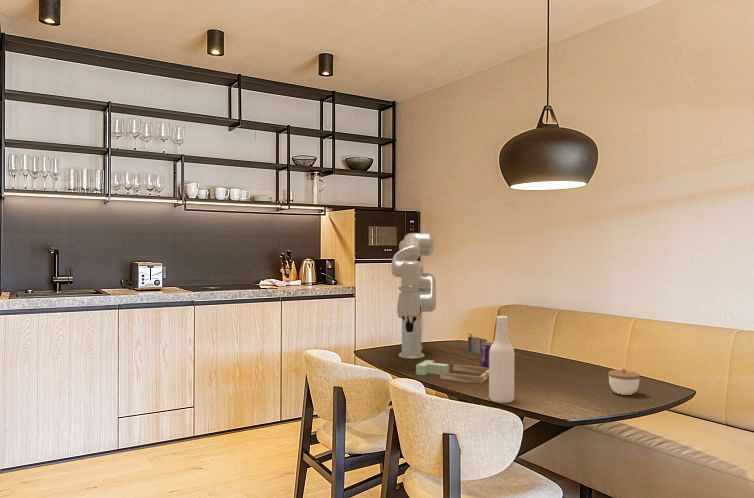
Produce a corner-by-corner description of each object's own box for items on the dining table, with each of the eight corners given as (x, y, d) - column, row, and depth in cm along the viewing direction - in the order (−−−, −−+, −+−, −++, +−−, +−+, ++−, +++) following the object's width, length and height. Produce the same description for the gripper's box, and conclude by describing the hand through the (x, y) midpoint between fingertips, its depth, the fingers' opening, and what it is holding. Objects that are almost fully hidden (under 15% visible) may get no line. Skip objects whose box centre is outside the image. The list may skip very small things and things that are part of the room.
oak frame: (454, 370, 252) (454, 364, 252) (492, 374, 245) (492, 368, 245) (440, 379, 236) (440, 373, 236) (481, 383, 228) (481, 377, 228)
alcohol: (491, 403, 200) (492, 318, 200) (486, 396, 209) (487, 314, 209) (516, 403, 201) (517, 318, 200) (510, 396, 209) (511, 314, 209)
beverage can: (496, 373, 246) (496, 345, 246) (479, 372, 248) (480, 344, 248) (496, 369, 253) (496, 342, 253) (480, 368, 255) (480, 342, 254)
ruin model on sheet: (467, 351, 296) (467, 332, 296) (471, 351, 298) (471, 332, 298) (482, 355, 287) (482, 336, 287) (486, 354, 289) (487, 335, 288)
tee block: (442, 377, 239) (442, 368, 238) (416, 374, 244) (416, 365, 244) (451, 371, 249) (451, 362, 249) (426, 368, 255) (426, 359, 254)
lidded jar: (646, 396, 210) (646, 371, 210) (621, 398, 207) (621, 372, 207) (625, 389, 221) (625, 365, 220) (602, 391, 218) (602, 366, 217)
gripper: (390, 289, 251) (390, 331, 251) (422, 291, 244) (422, 334, 245) (397, 288, 258) (397, 329, 258) (428, 289, 251) (428, 331, 251)
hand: (409, 331), depth 251 cm, fingers closed
